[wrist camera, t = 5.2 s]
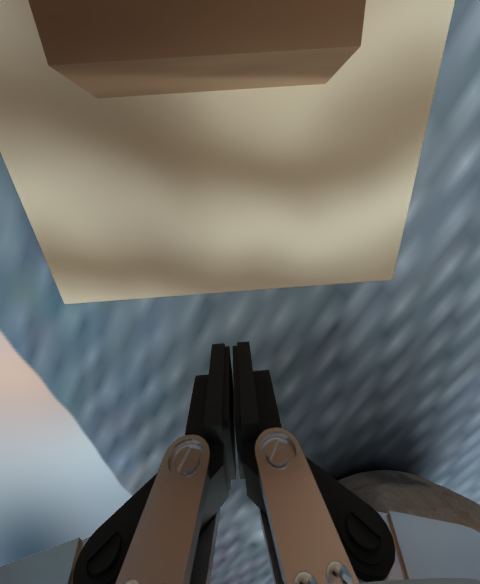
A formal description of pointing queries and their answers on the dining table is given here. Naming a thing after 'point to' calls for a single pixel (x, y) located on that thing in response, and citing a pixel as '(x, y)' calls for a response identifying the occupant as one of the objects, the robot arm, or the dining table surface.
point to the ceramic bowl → (413, 497)
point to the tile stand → (216, 138)
